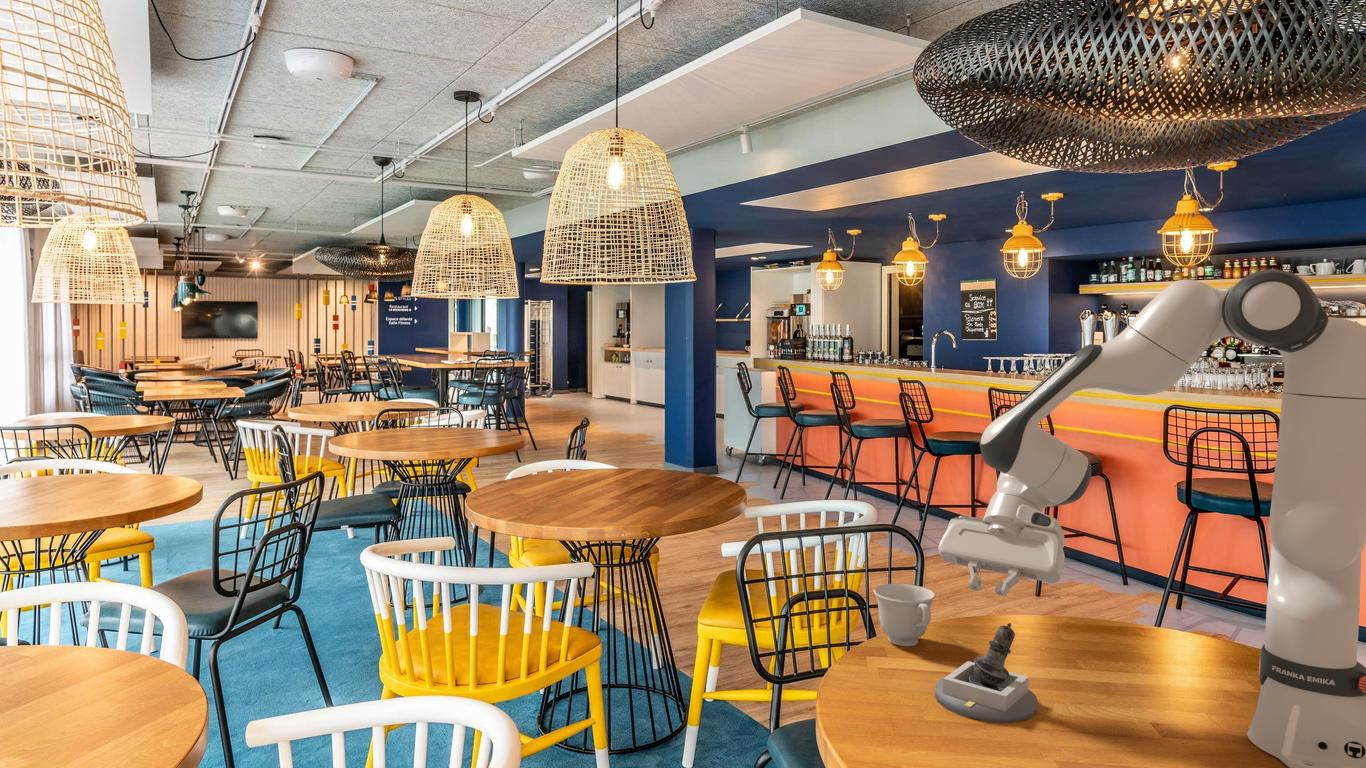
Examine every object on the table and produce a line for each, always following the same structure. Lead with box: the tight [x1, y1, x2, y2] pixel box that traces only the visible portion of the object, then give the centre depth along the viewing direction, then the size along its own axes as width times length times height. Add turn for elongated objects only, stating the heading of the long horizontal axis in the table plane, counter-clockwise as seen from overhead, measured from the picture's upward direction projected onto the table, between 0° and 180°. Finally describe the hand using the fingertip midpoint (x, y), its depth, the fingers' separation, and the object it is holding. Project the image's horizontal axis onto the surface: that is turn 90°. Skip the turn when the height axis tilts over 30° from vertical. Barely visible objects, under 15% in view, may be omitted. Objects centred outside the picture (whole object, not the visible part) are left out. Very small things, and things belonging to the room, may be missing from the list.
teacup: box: [873, 583, 936, 647], centre depth 169 cm, size 12×15×10 cm
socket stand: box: [934, 660, 1038, 724], centre depth 142 cm, size 16×16×4 cm
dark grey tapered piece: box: [969, 622, 1016, 691], centre depth 142 cm, size 6×6×12 cm
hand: (986, 591), depth 141 cm, fingers open, 3 cm apart
